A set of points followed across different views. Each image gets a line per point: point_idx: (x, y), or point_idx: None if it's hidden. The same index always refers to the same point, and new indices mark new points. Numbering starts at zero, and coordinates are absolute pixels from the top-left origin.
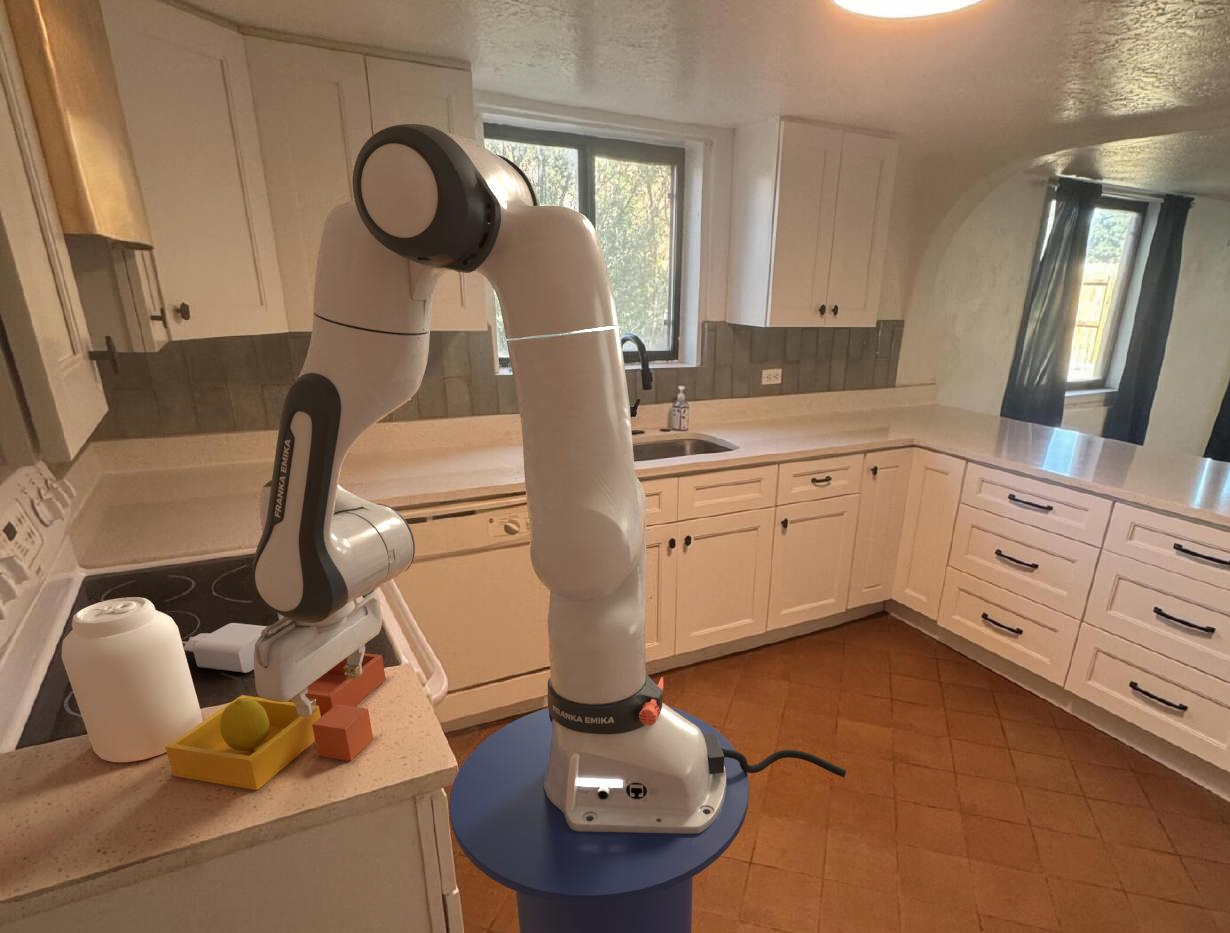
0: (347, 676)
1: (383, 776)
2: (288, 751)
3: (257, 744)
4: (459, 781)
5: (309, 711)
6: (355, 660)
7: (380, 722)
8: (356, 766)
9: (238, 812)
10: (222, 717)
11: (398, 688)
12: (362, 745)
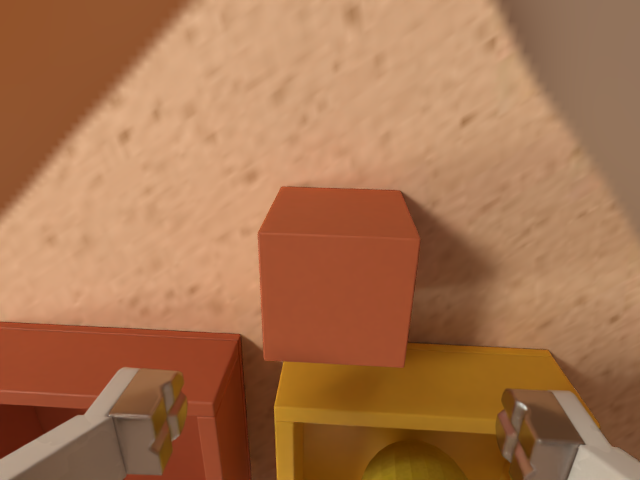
0: (182, 413)
1: (469, 26)
2: (430, 366)
3: (432, 446)
4: None
5: (581, 409)
6: (88, 459)
7: (193, 216)
8: (423, 157)
9: (634, 340)
10: None
11: (14, 263)
12: (337, 192)
